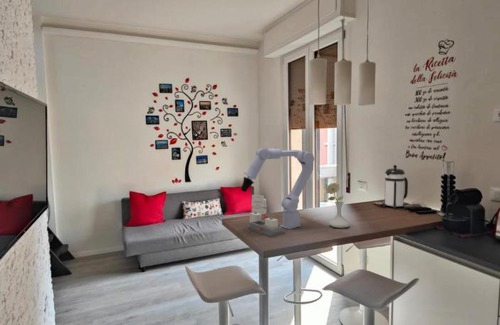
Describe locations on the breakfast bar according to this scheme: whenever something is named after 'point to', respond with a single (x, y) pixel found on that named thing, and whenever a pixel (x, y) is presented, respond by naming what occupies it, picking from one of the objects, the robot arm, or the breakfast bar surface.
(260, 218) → the plug
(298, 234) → the breakfast bar surface
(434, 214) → the breakfast bar surface
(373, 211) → the breakfast bar surface
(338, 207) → the flower in vase
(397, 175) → the coffee press
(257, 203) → the ink cartridge box
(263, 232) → the grey compartment holder
